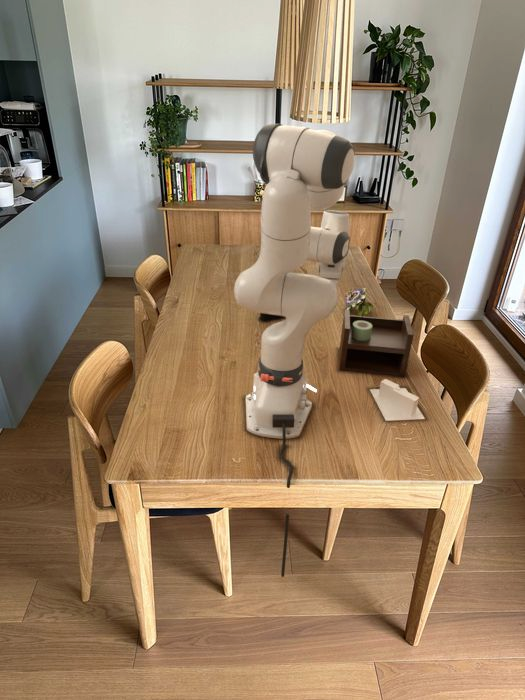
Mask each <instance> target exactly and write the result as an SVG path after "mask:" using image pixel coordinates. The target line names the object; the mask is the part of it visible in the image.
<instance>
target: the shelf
mask: <svg viewBox="0 0 525 700" xmlns="http://www.w3.org/2000/svg"><path fill="white" fill-rule="evenodd" d="M355 321H367V322H369V323H371V324H372V332H371V338H370V339H369V340H366V341H360V340H356V339H354V338H353V337H352V336H351V333H352V326H353V323H354V322H355ZM414 335H415V334H414V330H413V327H412V323H411V320H410V315H403V317H402V319H397V318H396V319H395V318H383V317H373V316H365V317H364V315H363V316H362V315H361V316H358V315H353V314H352V315H351V310H346V309H344V312H343V319H342V327H341V335H340V341H339V351H338V353H339V355H338V356H339V357H338V371H340V372H350V373H358V374H369V375H378V376H388V377H398V378H399V377H400V378H405V377H406V374H407V369H408V365H409V359H410V354H411V350H412V345H413V340H414Z"/></svg>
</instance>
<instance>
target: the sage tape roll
mask: <svg viewBox="0 0 525 700" xmlns="http://www.w3.org/2000/svg"><path fill="white" fill-rule="evenodd" d="M371 332H372V324H371V323H369V322H367V321H355V322H354V323H353V326H352V333H351V336H352V337H353V338H354V339H356V340H360V341H366V340H369V339H370V338H371Z"/></svg>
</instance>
